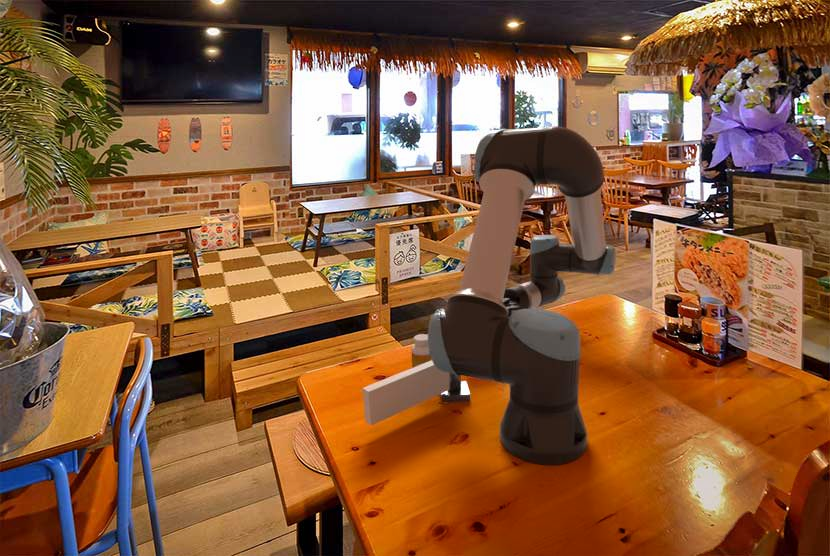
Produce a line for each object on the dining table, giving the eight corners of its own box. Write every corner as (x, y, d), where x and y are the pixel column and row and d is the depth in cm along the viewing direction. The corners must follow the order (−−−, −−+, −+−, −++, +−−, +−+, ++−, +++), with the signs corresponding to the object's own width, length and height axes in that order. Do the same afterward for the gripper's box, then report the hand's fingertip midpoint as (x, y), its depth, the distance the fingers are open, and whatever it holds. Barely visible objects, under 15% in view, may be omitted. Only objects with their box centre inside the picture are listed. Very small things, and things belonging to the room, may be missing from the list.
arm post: (470, 401, 104) (468, 348, 101) (441, 402, 104) (439, 350, 101) (466, 387, 110) (465, 337, 106) (439, 389, 110) (437, 338, 106)
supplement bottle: (433, 381, 113) (431, 342, 111) (410, 380, 114) (408, 341, 112) (437, 371, 118) (435, 333, 116) (415, 370, 119) (413, 332, 117)
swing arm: (443, 386, 105) (442, 356, 104) (449, 389, 104) (448, 358, 102) (365, 421, 94) (362, 388, 92) (371, 425, 92) (368, 391, 90)
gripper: (538, 318, 130) (472, 343, 117) (502, 306, 140) (437, 328, 127) (539, 290, 128) (472, 313, 115) (502, 281, 138) (436, 300, 125)
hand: (454, 321), depth 121 cm, fingers closed
